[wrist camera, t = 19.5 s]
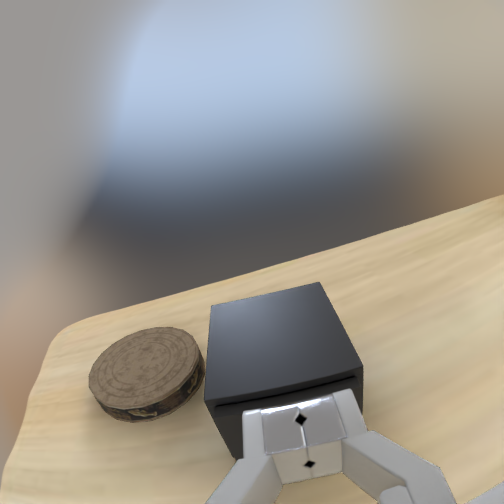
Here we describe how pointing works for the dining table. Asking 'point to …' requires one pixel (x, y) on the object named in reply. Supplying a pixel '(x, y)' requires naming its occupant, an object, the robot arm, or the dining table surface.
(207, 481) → the dining table surface
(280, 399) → the drawer
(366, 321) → the dining table surface
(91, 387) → the round wood slice
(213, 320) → the cabinet
